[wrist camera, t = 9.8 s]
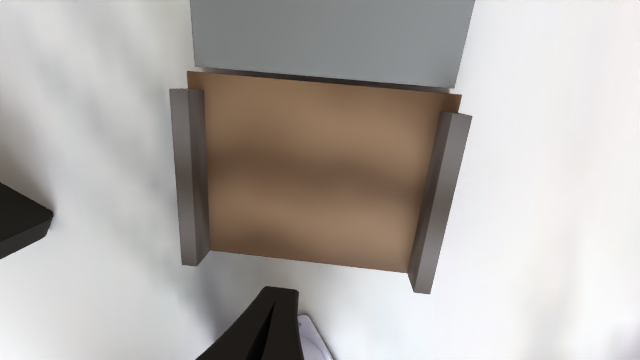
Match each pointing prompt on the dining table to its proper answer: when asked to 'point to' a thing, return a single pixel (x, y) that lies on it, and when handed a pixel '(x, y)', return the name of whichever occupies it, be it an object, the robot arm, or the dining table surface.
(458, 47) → the panel
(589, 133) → the dining table surface
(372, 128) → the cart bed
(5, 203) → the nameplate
